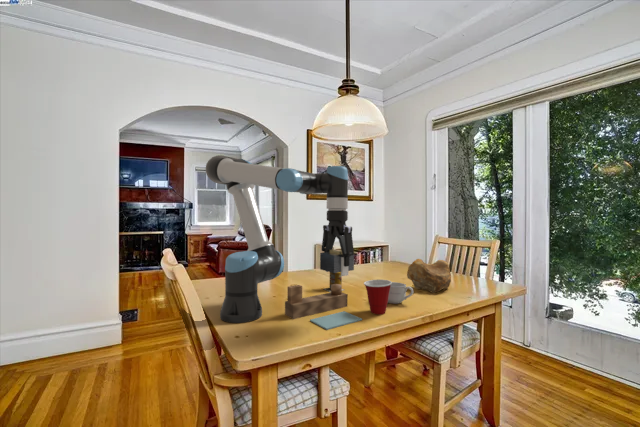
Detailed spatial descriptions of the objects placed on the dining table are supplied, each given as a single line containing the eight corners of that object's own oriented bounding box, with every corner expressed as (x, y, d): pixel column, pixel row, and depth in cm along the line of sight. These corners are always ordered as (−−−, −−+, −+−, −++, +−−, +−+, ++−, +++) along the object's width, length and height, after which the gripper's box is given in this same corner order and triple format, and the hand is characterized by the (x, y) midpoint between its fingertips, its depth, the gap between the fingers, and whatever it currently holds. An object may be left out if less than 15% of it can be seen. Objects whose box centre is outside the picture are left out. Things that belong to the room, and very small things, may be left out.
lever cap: (334, 273, 105) (334, 252, 105) (320, 269, 111) (320, 249, 111) (353, 270, 110) (353, 250, 110) (339, 266, 117) (339, 248, 117)
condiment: (345, 290, 153) (345, 266, 153) (331, 292, 148) (331, 267, 148) (336, 287, 159) (336, 263, 159) (322, 289, 155) (322, 265, 154)
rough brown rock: (422, 297, 144) (425, 266, 143) (402, 286, 160) (405, 257, 159) (462, 295, 151) (465, 265, 150) (439, 284, 167) (442, 257, 166)
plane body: (293, 319, 112) (293, 289, 112) (284, 314, 117) (285, 285, 117) (347, 306, 127) (347, 279, 127) (338, 302, 132) (338, 277, 132)
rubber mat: (326, 329, 102) (326, 328, 102) (310, 321, 110) (310, 319, 110) (362, 320, 112) (362, 318, 112) (344, 312, 120) (344, 311, 120)
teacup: (375, 301, 134) (375, 283, 134) (389, 296, 142) (389, 279, 142) (404, 309, 124) (404, 289, 124) (417, 303, 132) (417, 284, 132)
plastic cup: (363, 306, 127) (364, 277, 127) (390, 308, 125) (391, 279, 125) (362, 315, 116) (363, 284, 116) (392, 317, 114) (392, 285, 114)
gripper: (365, 210, 104) (364, 277, 105) (327, 209, 121) (327, 267, 121) (348, 210, 100) (348, 280, 100) (312, 209, 117) (311, 269, 117)
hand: (336, 273), depth 111 cm, fingers closed on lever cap, 8 cm apart
